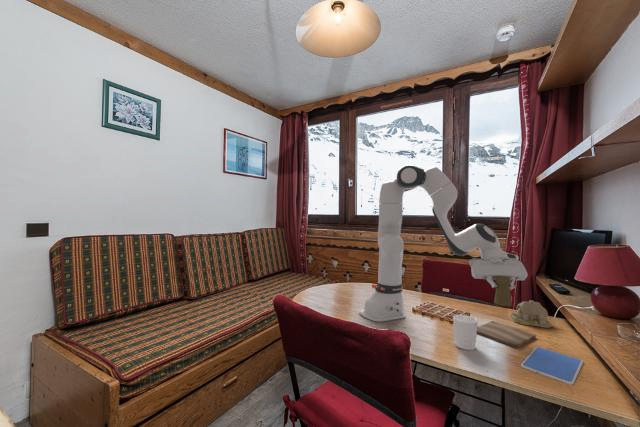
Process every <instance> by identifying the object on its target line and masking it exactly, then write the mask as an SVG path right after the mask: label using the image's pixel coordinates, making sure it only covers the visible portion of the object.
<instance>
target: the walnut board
mask: <svg viewBox="0 0 640 427" xmlns="http://www.w3.org/2000/svg"><path fill="white" fill-rule="evenodd" d="M477 335H480V336H482V337H484V338H488V339H491V340H492V341H496V342H497V343H498V342H499V343H501V344H504V345H506V346H509V347H512V348H515V349H518V348H520V347H522V346H523V345H525V344H527V343H529V342H531V341H533V340H534V339H536V338H537V335H536V334H535V333H531V332H528V331H525V330H522V329H519V328H516V327H513V326H509V325H507V324H503V323H500V322H498V321H492V320H491V321H488V322H486V323H484V324H482V325H479V326H477Z"/></svg>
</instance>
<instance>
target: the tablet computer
mask: <svg viewBox="0 0 640 427" xmlns="http://www.w3.org/2000/svg"><path fill="white" fill-rule="evenodd" d="M583 364H584V361H583V360H581V359H580V358H576V357H574V356H570V355H566V354H564V353H563V354H562V353H560V352H556V351H554V350H550V349H547V348H544V347H541V346H540V347H539V346H536V347H535V348H534V349H533V350H532V351H531V352H530V354H529V355H528V356H527V357H526V358H525V360H524V361H523V362H522V363H521V365H520V367H521V368H523V369H525V370H528V371H530V372H534V373H536V374H539V375H542V376H545V377H547V378H551V379H553V380H555V379H556V380H555V381H558V380H559V382H561V381H562V382H561V383H564V384H566V385H569V386H573V385H574V384H575V382H576V379H577V377H578V374H579V372H580V370H581V368H582V366H583Z"/></svg>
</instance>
